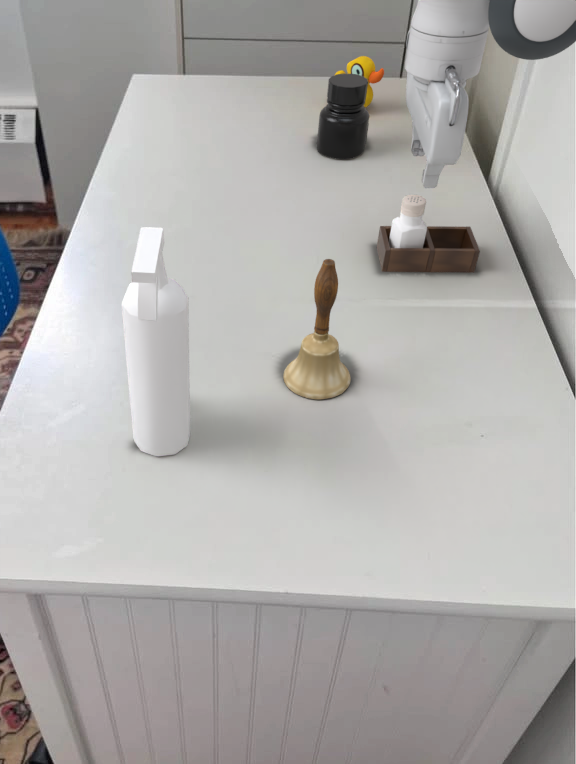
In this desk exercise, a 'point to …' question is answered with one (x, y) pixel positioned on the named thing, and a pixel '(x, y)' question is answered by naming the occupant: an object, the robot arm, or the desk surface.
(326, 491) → the desk surface
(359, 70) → the duckling
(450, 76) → the robot arm
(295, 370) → the hand bell
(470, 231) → the holder
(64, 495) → the desk surface
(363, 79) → the ink bottle
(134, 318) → the white spray bottle
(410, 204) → the pepper shaker
